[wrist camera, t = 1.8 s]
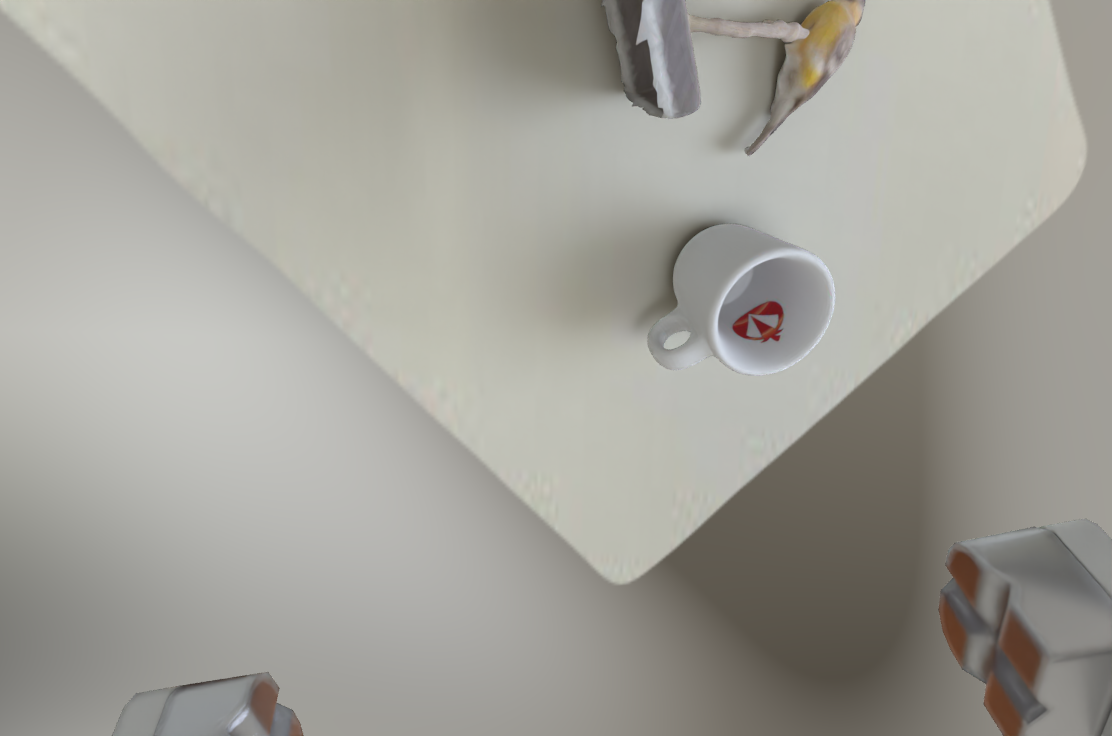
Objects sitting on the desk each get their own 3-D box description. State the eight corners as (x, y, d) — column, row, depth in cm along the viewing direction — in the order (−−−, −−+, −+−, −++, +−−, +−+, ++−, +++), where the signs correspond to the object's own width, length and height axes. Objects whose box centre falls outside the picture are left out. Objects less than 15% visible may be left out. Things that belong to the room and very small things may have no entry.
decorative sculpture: (851, -11, 45) (938, -6, 39) (804, 158, 49) (876, 187, 43) (590, -59, 40) (641, -62, 34) (563, 133, 44) (604, 162, 38)
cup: (654, 367, 53) (703, 428, 46) (599, 281, 49) (644, 334, 42) (785, 277, 53) (854, 325, 46) (740, 183, 49) (810, 220, 42)
